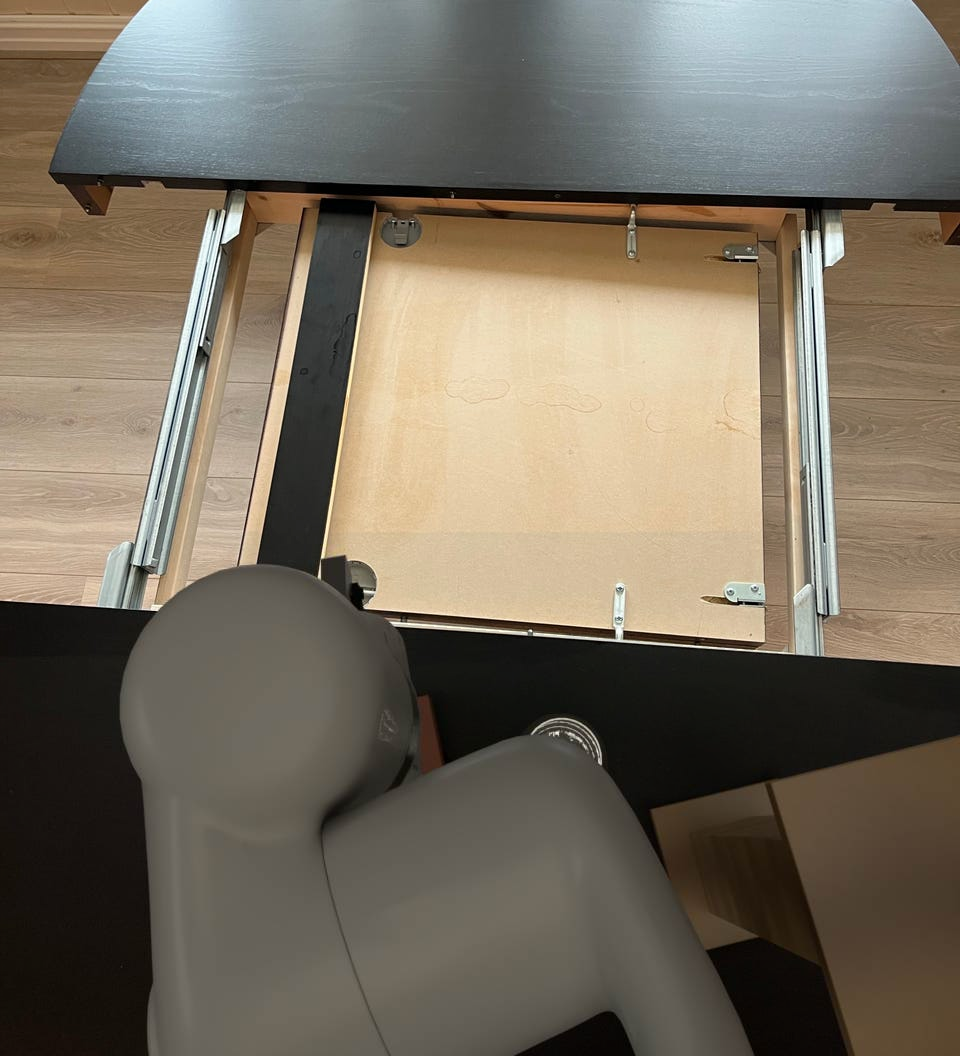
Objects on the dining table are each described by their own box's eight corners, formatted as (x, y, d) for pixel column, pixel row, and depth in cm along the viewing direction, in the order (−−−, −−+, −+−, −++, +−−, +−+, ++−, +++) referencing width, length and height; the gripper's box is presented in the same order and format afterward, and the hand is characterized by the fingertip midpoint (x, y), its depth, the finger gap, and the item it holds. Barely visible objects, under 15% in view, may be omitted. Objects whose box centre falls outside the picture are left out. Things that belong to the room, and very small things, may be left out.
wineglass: (502, 743, 74) (499, 729, 63) (578, 712, 75) (588, 693, 64) (533, 825, 72) (535, 826, 61) (610, 793, 73) (627, 788, 62)
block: (446, 771, 74) (443, 769, 71) (376, 788, 74) (370, 786, 71) (431, 699, 76) (428, 694, 73) (363, 715, 75) (356, 711, 72)
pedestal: (829, 925, 69) (1203, 1051, 31) (681, 962, 69) (879, 1136, 31) (780, 769, 73) (1062, 710, 35) (639, 803, 73) (769, 781, 34)
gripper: (450, 958, 37) (471, 915, 53) (388, 491, 43) (423, 578, 59) (238, 995, 37) (322, 940, 53) (205, 520, 43) (290, 600, 59)
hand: (375, 749), depth 56 cm, fingers open, 9 cm apart
